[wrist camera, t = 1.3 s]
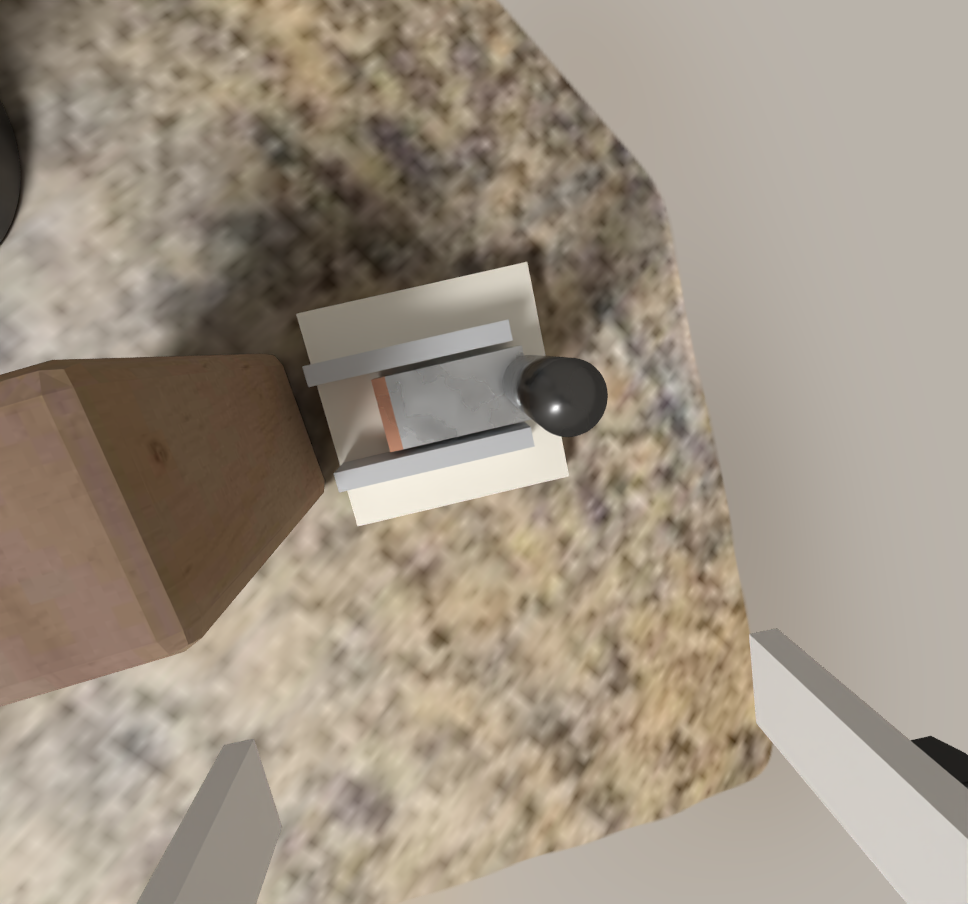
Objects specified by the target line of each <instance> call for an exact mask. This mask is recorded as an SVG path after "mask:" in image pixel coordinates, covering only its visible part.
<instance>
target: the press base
mask: <svg viewBox="0 0 968 904" xmlns="http://www.w3.org/2000/svg"><path fill="white" fill-rule="evenodd" d="M296 315H297V319H298V322H299V326H300V329H301V333H302V336H303V339H304V343H305V346H306V350H307V353H308V357H309V360H310V365H306V366H302V368H303V371H304V374H305V378H306V381H307V385H308V387H311V386H316V385H317V388H318V391H319V395H320V398H321V401H322V405H323V408H324V412H325V415H326V419H327V422H328V426H329V429H330V432H331V436H332V439H333V443H334V446H335V450H336V453H337V457H338V460H339V464H340V467H339V468H338V469H337V470H336V471H335V472H334V476H335V480H336V483H337V487H338V490H339V492H343V491H348V495H349V498H350V501H351V505H352V508H353V512H354V515H355V519H356V522H357V526H361V525H365V524H369V523H374V522H378V521H382V520H386V519H390V518H395V517H399V516H403V515H407V514H412V513H416V512H420V511H424V510H428V509H433V508H437V507H441V506H445V505H449V504H454V503H458V502H462V501H466V500H470V499H475V498H479V497H483V496H487V495H492V494H496V493H500V492H504V491H508V490H513V489H517V488H521V487H525V486H529V485H534V484H538V483H542V482H546V481H551V480H555V479H559V478H563V477H567V476H569V473H568V468H567V463H566V458H565V453H564V448H563V443H562V437H561V436H557V435H554V434H551V433H549V432H548V431H546V430H545V429H543V428H542V427H541V426H540V425H538V424H537V423H536V422H535V421H533V420H532V419H531V420H527V421H523V422H518V423H514V424H510V425H506V426H501V427H497V428H493V429H488V430H484V431H480V432H476V433H471V434H467V435H463V436H458V437H454V438H450V439H446V440H441V441H437V442H433V443H429V444H424V445H420V446H416V447H411V448H407V449H403V450H399V451H394V452H390V449H389V445H388V442H387V438H386V434H385V431H384V427H383V423H382V419H381V416H380V412H379V408H378V404H377V401H376V397H375V393H374V389H373V386H372V382H371V380H372V379H374V378H377V377H382V376H386V375H390V374H395V373H399V372H403V371H408V370H412V369H416V368H421V367H425V366H429V365H434V364H438V363H443V362H447V361H451V360H456V359H460V358H464V357H469V356H473V355H477V354H482V353H486V352H491V351H495V350H499V349H504V348H508V347H512V346H519V345H522V349H523V354H524V355H539V356H546V355H545V350H544V345H543V340H542V335H541V330H540V325H539V320H538V315H537V309H536V304H535V299H534V294H533V289H532V284H531V279H530V274H529V268H528V263H527V262H524V263H520V264H515V265H511V266H506V267H502V268H497V269H493V270H488V271H484V272H480V273H475V274H471V275H466V276H462V277H457V278H453V279H448V280H444V281H440V282H435V283H431V284H426V285H422V286H417V287H413V288H408V289H404V290H399V291H395V292H391V293H386V294H382V295H377V296H373V297H368V298H364V299H359V300H355V301H351V302H346V303H342V304H337V305H333V306H328V307H324V308H319V309H315V310H310V311H306V312H302V313H297V314H296Z"/></svg>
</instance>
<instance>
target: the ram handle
mask: <svg viewBox="0 0 968 904" xmlns="http://www.w3.org/2000/svg"><path fill="white" fill-rule="evenodd" d="M371 382H372V386H373V389H374V393H375V397H376V401H377V404H378V408H379V412H380V416H381V419H382V423H383V427H384V431H385V434H386V438H387V442H388V445H389V449H390V452H394V451H399V450H403V449H407V448H411V447H416V446H420V445H424V444H429V443H433V442H437V441H441V440H446V439H450V438H454V437H458V436H463V435H467V434H471V433H476V432H480V431H484V430H488V429H493V428H497V427H501V426H506V425H510V424H514V423H518V422H523V421H527V420H531V419H532V420H533V421H535V422H536V423H537V424H538V425H540V426H541V427H542V428H543V429H545V430H546V431H548V432H549V433H551V434H554V435H557V436H561V437H573V436H578V435H581V434H583V433H585V432H587V431H589V430H590V429H591V428H593V427H594V426H595V425H596V424H597V423H598V422H599V420H600V419H601V417H602V416H603V414H604V411H605V409H606V405H607V398H608V393H607V387H606V383H605V381H604V378H603V377H602V375H601V374H600V372H599V371H598V370H597V369H596V368H595V367H594V366H593V365H591V364H590V363H588V362H586V361H584V360H581V359H577V358H566V357H553V356H539V355H524V354H523V349H522V345H519V346H512V347H508V348H504V349H499V350H495V351H491V352H486V353H482V354H477V355H473V356H469V357H464V358H460V359H456V360H451V361H447V362H443V363H438V364H434V365H429V366H425V367H421V368H416V369H412V370H408V371H403V372H399V373H395V374H390V375H386V376H382V377H377V378H374V379H372V380H371Z"/></svg>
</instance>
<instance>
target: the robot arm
mask: <svg viewBox="0 0 968 904" xmlns="http://www.w3.org/2000/svg"><path fill="white" fill-rule="evenodd" d="M19 191H20V161H19V154H18V148H17V143H16V140H15V136H14V132H13V129H12V126H11V123H10V121H9V118H8V116H7V113H6V111H5V109H4V107H3V105H2V103H1V101H0V242H1V241H2V239H3V238H4V236H5V234H6V233H7V231H8V229H9V227H10V225H11V222H12V220H13V217H14V214H15V211H16V207H17V203H18V198H19ZM749 638H750V650H751V663H752V675H753V688H754V700H755V712H756V723H757V724H758V726H759V727H760V728H761V729H762V730H763V732H764V733H765V734H766V735H767V736H768V738H769V739H770V740H771V741H772V742H773V744H774V745H775V746H776V747H777V748H778V749H779V751H780V752H781V753H782V754H783V755H784V757H785V758H786V759H787V760H788V762H789V763H790V764H791V765H792V766H793V768H794V769H795V770H796V771H797V772H798V774H799V775H800V776H801V777H802V778H803V780H804V781H805V782H806V783H807V784H808V785H809V787H810V788H811V789H812V790H813V792H814V793H815V794H816V795H817V796H818V798H819V799H820V800H821V801H822V802H823V804H824V805H825V806H826V807H827V808H828V810H829V811H830V812H831V813H832V814H833V815H834V817H835V818H836V819H837V820H838V821H839V822H840V824H841V825H842V826H843V828H844V829H845V830H846V831H847V832H848V833H849V835H850V836H851V837H852V838H853V840H854V841H855V842H856V843H857V844H858V846H859V847H860V848H861V849H862V850H863V851H864V853H865V854H866V855H867V856H868V858H869V859H870V860H871V861H872V862H873V864H874V865H875V866H876V867H877V868H878V870H880V872H881V873H882V874H883V876H884V877H885V878H886V879H887V880H888V882H889V883H890V884H891V885H892V886H893V888H895V890H896V891H897V892H898V893H899V895H900V896H901V897H902V898H903V900H904V901H905V902H906V903H907V904H968V755H967V754H966V753H964V752H962V751H960V750H958V749H956V748H954V747H952V746H950V745H948V744H946V743H944V742H942V741H940V740H938V739H936V738H934V737H932V736H928V737H924V738H919V739H915V740H909V739H908V738H907V737H906V736H904V735H903V734H902V733H901V732H900V731H898V730H897V729H896V728H895V727H894V726H892V725H891V724H890V723H889V722H888V721H887V720H885V719H884V718H883V717H882V716H881V715H879V714H878V713H877V712H876V711H875V710H873V709H872V708H871V707H870V706H869V705H867V704H866V703H865V702H864V701H863V700H861V699H860V698H859V697H858V696H857V695H856V694H854V693H853V692H852V691H851V690H850V689H849V688H847V687H846V686H845V685H844V684H842V683H841V682H840V681H839V680H838V679H836V678H835V677H834V676H833V675H832V674H831V673H830V672H828V671H827V670H826V669H825V668H824V667H822V666H821V665H820V664H819V663H818V662H817V661H815V660H814V659H813V658H812V657H811V656H809V655H808V654H807V653H806V652H805V651H803V650H802V649H801V648H800V647H799V646H798V645H796V644H795V643H794V642H793V641H792V640H790V639H789V638H788V637H787V636H786V635H784V634H783V633H782V632H781V631H780V630H778V629H777V628H776V629H771V630H766V631H761V632H756V633H752V634H749ZM281 828H282V825H281V822H280V819H279V816H278V812H277V809H276V806H275V803H274V800H273V797H272V794H271V790H270V787H269V784H268V781H267V778H266V775H265V772H264V768H263V765H262V762H261V759H260V756H259V753H258V750H257V746H256V743H255V740H254V739H250V740H245V741H241V742H236V743H231V744H226V745H224V746H223V748H222V749H221V751H220V753H219V755H218V757H217V759H216V760H215V762H214V764H213V766H212V768H211V769H210V771H209V773H208V775H207V777H206V779H205V780H204V782H203V784H202V786H201V788H200V789H199V791H198V793H197V795H196V797H195V798H194V800H193V802H192V804H191V806H190V808H189V809H188V811H187V813H186V815H185V817H184V818H183V820H182V822H181V824H180V826H179V828H178V829H177V831H176V833H175V835H174V837H173V838H172V840H171V842H170V844H169V846H168V847H167V849H166V851H165V853H164V855H163V857H162V858H161V860H160V862H159V864H158V866H157V867H156V869H155V871H154V873H153V875H152V877H151V878H150V880H149V882H148V884H147V886H146V887H145V889H144V891H143V893H142V895H141V896H140V898H139V900H138V902H137V904H256V902H257V899H258V896H259V893H260V890H261V887H262V884H263V882H264V879H265V876H266V873H267V870H268V867H269V864H270V861H271V858H272V855H273V852H274V849H275V846H276V843H277V840H278V837H279V834H280V831H281Z"/></svg>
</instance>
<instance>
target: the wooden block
mask: <svg viewBox="0 0 968 904" xmlns="http://www.w3.org/2000/svg"><path fill="white" fill-rule="evenodd" d="M324 483H325V481H324V478H323V475H322V472H321V470H320V467H319V464H318V461H317V459H316V456H315V453H314V450H313V448H312V445H311V442H310V439H309V437H308V434H307V431H306V428H305V425H304V423H303V420H302V417H301V414H300V412H299V409H298V406H297V403H296V401H295V398H294V395H293V392H292V390H291V387H290V384H289V381H288V378H287V376H286V373H285V370H284V367H283V365H282V364H281V362H280V361H279V360H278V359H277V358H276V357H275V356H274V355H268V354H238V355H204V356H170V357H136V358H102V359H68V360H50V361H47V362H43V363H40V364H37V365H33V366H30V367H26V368H23V369H19V370H16V371H12V372H9V373H5V374H2V375H0V706H4V705H7V704H11V703H14V702H17V701H21V700H24V699H27V698H31V697H34V696H37V695H41V694H44V693H48V692H51V691H54V690H58V689H61V688H64V687H68V686H71V685H74V684H78V683H81V682H85V681H88V680H91V679H95V678H98V677H101V676H105V675H108V674H111V673H115V672H118V671H122V670H125V669H128V668H132V667H135V666H138V665H142V664H145V663H148V662H152V661H155V660H159V659H162V658H165V657H169V656H172V655H175V654H178V653H181V652H184V651H186V650H187V649H188V648H190V647H191V646H192V645H193V644H195V643H196V642H197V641H198V640H200V639H201V638H202V637H203V636H204V635H205V633H206V632H207V631H208V630H209V629H210V627H211V626H212V625H213V624H214V623H215V622H216V620H217V619H218V618H219V617H220V616H221V614H222V613H223V612H224V611H225V610H226V608H227V607H228V606H229V605H230V604H231V602H232V601H233V600H234V599H235V598H236V596H237V595H238V594H239V593H240V592H241V590H242V589H243V588H244V587H245V586H246V585H247V583H248V582H249V581H250V580H251V579H252V577H253V576H254V575H255V574H256V573H257V571H258V570H259V569H260V568H261V567H262V565H263V564H264V563H265V562H266V561H267V559H268V558H269V557H270V556H271V555H272V553H273V552H274V551H275V550H276V549H277V548H278V546H279V545H280V544H281V543H282V542H283V540H284V539H285V538H286V537H287V536H288V534H289V533H290V532H291V531H292V530H293V528H294V527H295V526H296V525H297V524H298V522H299V521H300V520H301V519H302V518H303V517H304V515H305V514H306V513H307V512H308V511H309V509H310V508H311V507H312V506H313V505H314V503H315V502H316V501H317V500H318V499H319V497H320V496H321V495H322V494H323V493H324Z"/></svg>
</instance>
